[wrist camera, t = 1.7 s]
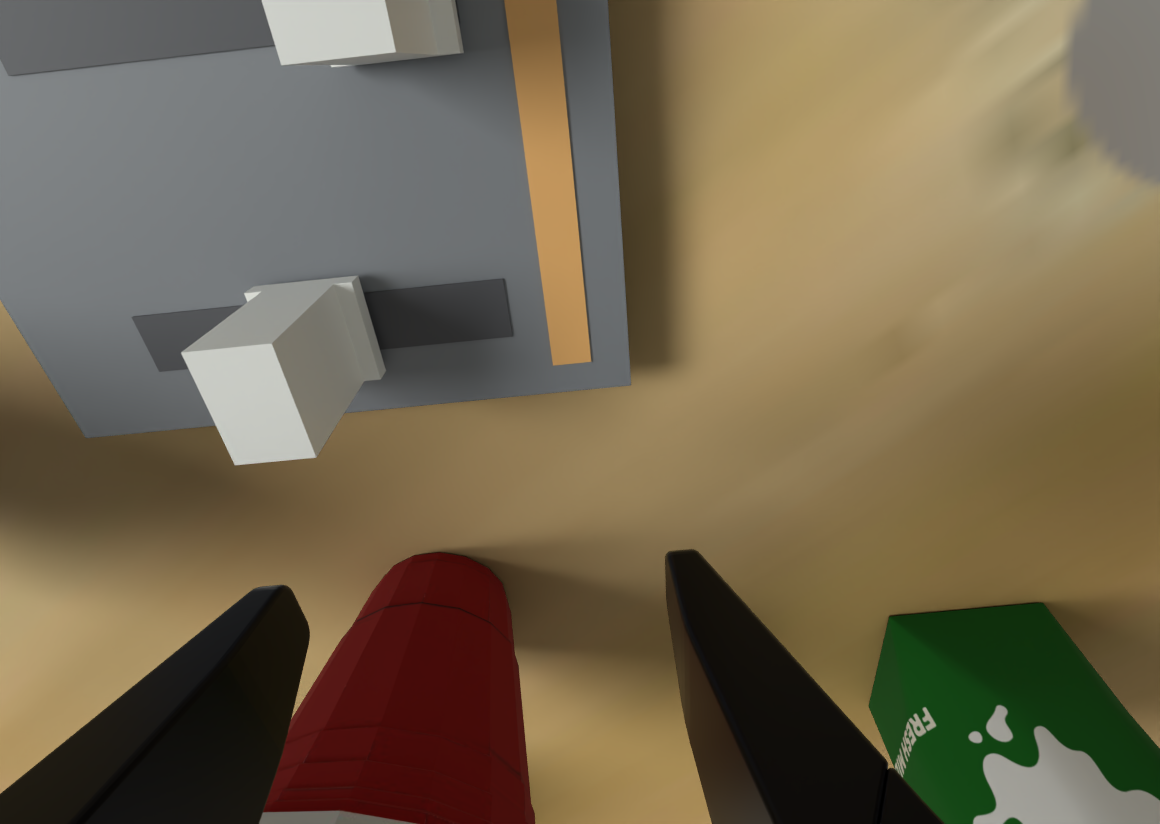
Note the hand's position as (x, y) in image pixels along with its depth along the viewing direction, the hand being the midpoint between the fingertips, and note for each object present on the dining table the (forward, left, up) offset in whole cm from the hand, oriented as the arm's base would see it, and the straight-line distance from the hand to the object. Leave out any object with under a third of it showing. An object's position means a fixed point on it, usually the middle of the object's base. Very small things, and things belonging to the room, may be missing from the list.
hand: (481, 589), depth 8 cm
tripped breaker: (-6, 0, -11) cm, 12 cm away
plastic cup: (-6, -14, -13) cm, 20 cm away
